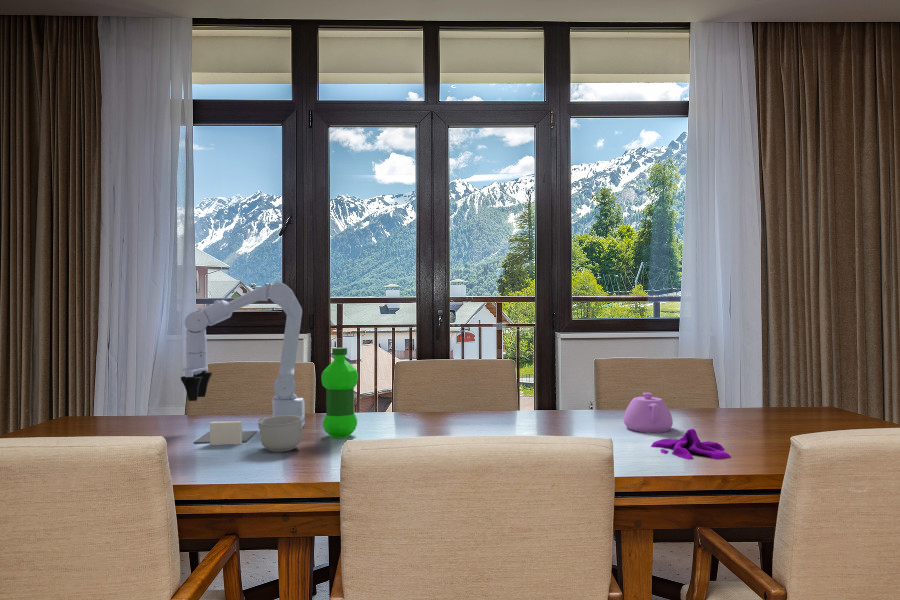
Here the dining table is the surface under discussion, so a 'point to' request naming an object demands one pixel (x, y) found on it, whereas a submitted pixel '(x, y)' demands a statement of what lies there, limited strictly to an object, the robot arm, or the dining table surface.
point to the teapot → (648, 414)
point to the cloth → (691, 447)
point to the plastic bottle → (339, 395)
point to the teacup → (280, 432)
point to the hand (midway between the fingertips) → (197, 398)
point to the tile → (226, 432)
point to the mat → (245, 437)
